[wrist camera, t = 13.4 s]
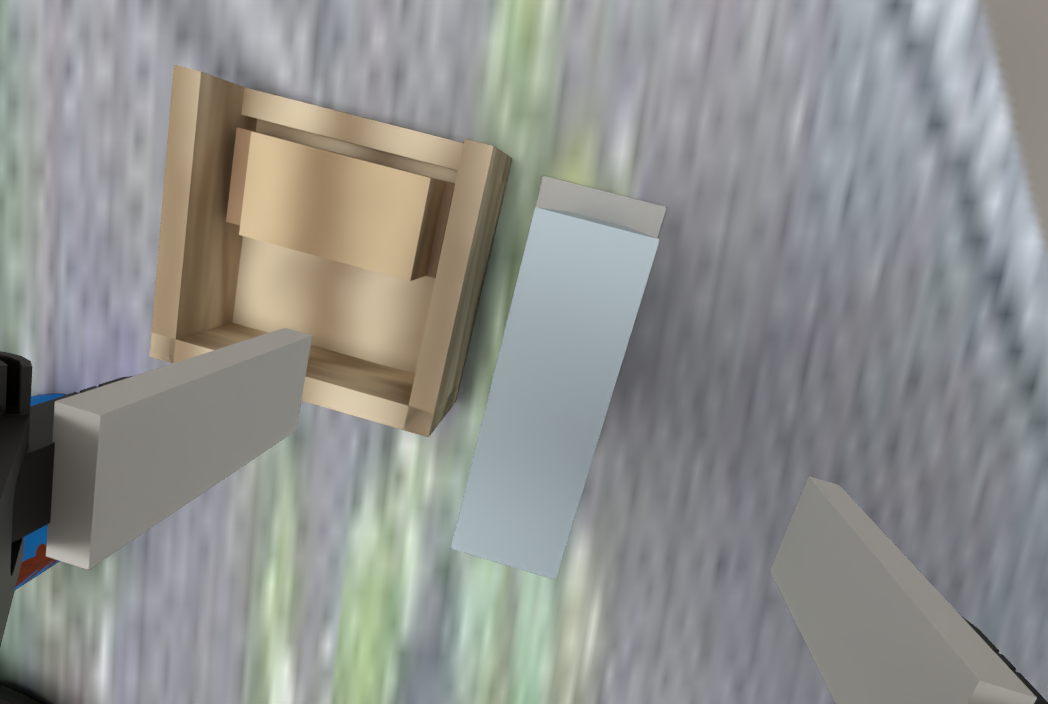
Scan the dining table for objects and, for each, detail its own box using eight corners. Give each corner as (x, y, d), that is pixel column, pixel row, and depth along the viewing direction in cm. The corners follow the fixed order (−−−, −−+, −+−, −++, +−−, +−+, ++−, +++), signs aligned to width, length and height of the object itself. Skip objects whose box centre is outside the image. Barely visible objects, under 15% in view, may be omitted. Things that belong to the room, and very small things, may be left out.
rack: (512, 158, 32) (493, 146, 27) (455, 401, 36) (428, 437, 30) (247, 90, 33) (174, 64, 28) (219, 334, 37) (149, 356, 31)
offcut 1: (466, 186, 32) (454, 183, 30) (447, 273, 33) (434, 278, 31) (265, 134, 33) (236, 127, 30) (254, 221, 34) (225, 221, 32)
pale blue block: (575, 407, 35) (555, 580, 18) (519, 392, 35) (450, 548, 19) (628, 227, 32) (659, 239, 16) (567, 211, 32) (535, 207, 16)
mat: (665, 207, 32) (666, 207, 32) (596, 433, 36) (596, 437, 35) (544, 176, 33) (543, 175, 32) (487, 403, 36) (486, 406, 35)
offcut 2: (445, 181, 30) (430, 178, 27) (425, 275, 31) (410, 281, 28) (281, 138, 30) (251, 131, 28) (268, 233, 31) (238, 234, 29)
